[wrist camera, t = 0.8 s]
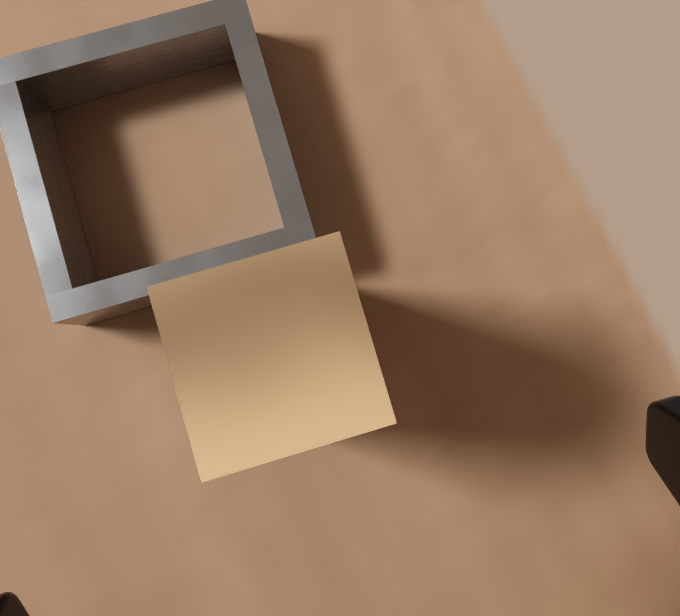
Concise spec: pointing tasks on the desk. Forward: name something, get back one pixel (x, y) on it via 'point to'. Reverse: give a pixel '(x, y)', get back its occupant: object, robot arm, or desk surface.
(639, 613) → the desk surface
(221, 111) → the desk surface
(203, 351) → the rectangular block
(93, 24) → the desk surface
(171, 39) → the grey square tray
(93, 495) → the desk surface
